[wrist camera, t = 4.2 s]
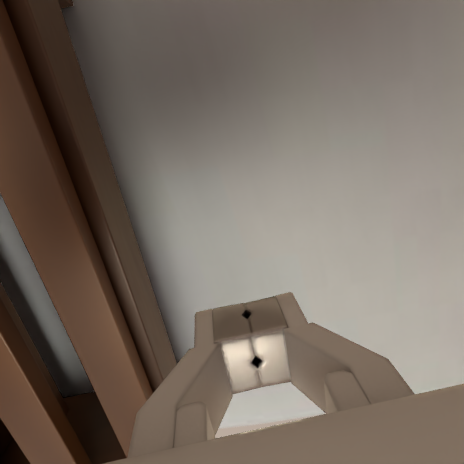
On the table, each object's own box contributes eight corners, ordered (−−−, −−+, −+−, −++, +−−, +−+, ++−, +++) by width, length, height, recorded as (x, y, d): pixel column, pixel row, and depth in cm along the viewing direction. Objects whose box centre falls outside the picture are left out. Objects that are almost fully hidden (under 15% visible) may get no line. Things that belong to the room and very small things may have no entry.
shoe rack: (64, -25, 14) (-35, -117, 8) (192, 383, 24) (188, 477, 18) (-219, 31, 14) (-522, -21, 8) (23, 418, 24) (-38, 523, 18)
